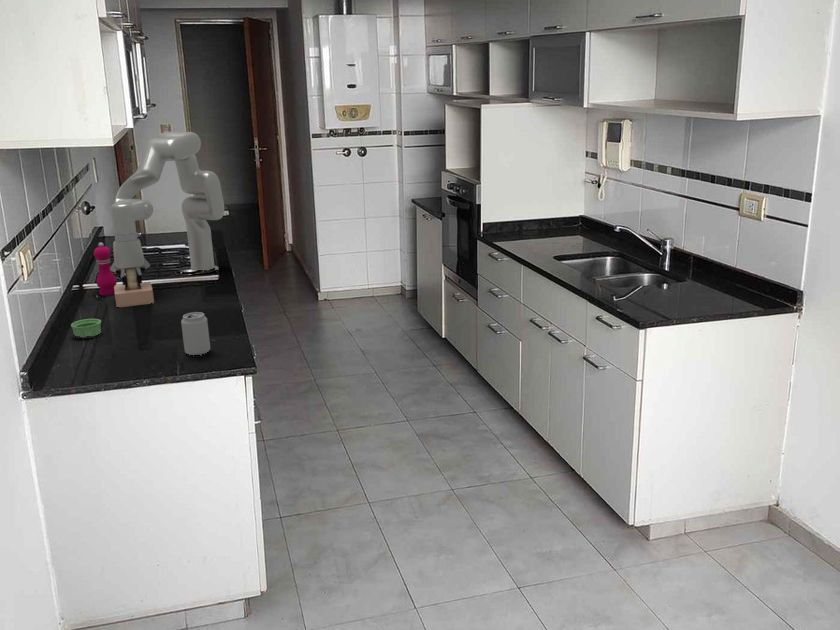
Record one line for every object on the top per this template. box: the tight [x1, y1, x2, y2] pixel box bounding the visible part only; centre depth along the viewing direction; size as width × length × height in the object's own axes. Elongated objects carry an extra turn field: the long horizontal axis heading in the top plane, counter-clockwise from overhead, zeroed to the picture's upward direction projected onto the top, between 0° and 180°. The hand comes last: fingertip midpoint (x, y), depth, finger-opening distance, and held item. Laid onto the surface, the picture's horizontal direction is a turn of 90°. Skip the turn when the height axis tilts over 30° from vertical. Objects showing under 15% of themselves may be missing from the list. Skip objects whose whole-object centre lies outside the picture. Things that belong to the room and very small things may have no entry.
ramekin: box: [70, 318, 102, 337], centre depth 259 cm, size 9×9×4 cm
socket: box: [114, 281, 155, 308], centre depth 297 cm, size 13×13×5 cm
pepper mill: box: [93, 242, 118, 297], centre depth 306 cm, size 7×7×20 cm
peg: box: [124, 268, 139, 290], centre depth 295 cm, size 4×4×10 cm
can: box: [180, 311, 211, 357], centre depth 239 cm, size 8×8×12 cm
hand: (132, 285), depth 296 cm, fingers closed on peg, 4 cm apart
